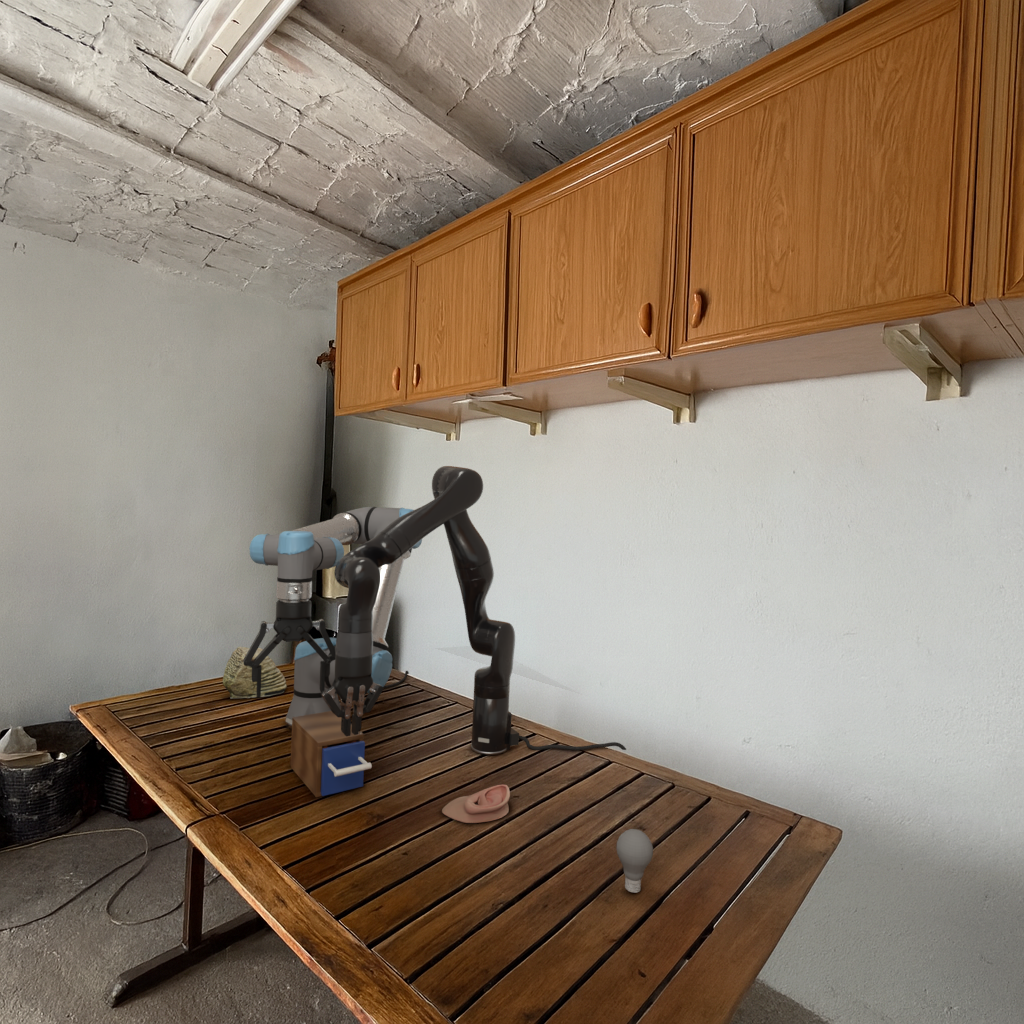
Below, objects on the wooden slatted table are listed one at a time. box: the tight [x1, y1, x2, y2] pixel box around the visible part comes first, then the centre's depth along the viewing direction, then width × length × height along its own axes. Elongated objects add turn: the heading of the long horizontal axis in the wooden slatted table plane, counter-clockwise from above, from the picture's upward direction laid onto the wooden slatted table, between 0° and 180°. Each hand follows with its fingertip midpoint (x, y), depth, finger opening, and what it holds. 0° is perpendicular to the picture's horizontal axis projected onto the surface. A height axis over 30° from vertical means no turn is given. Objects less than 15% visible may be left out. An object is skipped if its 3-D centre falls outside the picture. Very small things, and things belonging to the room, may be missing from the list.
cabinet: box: [289, 711, 365, 798], centre depth 143 cm, size 18×10×12 cm, turn 36°
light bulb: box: [615, 828, 654, 894], centre depth 106 cm, size 6×6×10 cm
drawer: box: [321, 740, 373, 797], centre depth 139 cm, size 22×9×10 cm, turn 36°
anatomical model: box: [441, 784, 511, 824], centre depth 131 cm, size 13×4×12 cm
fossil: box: [222, 646, 288, 699], centre depth 198 cm, size 9×18×15 cm, turn 132°
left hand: (290, 693), depth 143 cm, fingers open, 13 cm apart
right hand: (351, 734), depth 132 cm, fingers closed
